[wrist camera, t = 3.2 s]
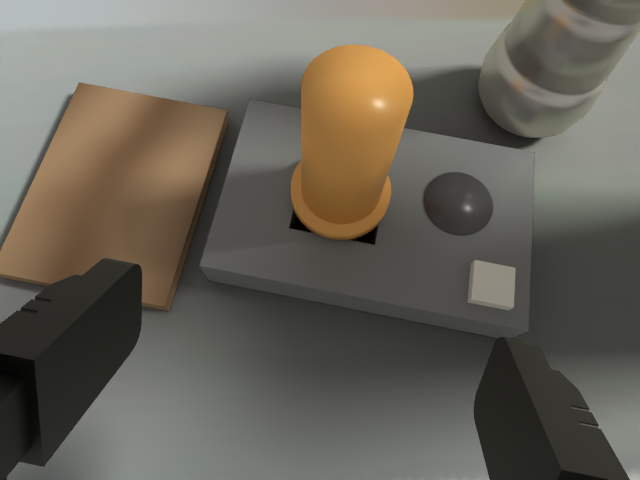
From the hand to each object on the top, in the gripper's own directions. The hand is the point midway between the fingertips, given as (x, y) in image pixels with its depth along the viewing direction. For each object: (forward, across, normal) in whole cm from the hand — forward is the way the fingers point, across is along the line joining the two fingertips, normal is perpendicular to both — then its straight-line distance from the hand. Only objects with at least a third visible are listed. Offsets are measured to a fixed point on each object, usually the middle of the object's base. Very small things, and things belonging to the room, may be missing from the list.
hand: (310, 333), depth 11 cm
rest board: (+16, +12, +4) cm, 20 cm away
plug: (+17, 0, +3) cm, 17 cm away
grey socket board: (+17, -2, +3) cm, 17 cm away
